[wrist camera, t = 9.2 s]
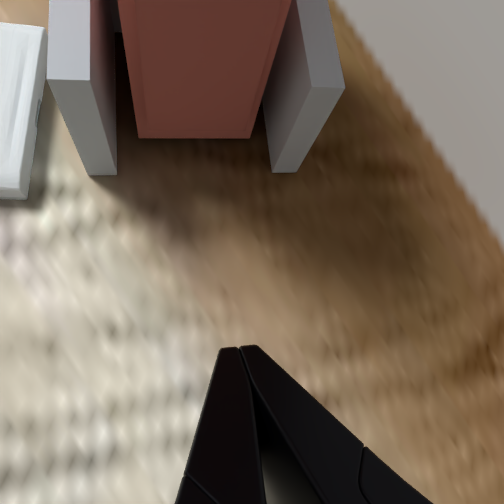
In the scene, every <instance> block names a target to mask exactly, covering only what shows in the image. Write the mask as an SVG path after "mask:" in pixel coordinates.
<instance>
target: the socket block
mask: <svg viewBox="0 0 504 504" xmlns="http://www.w3.org/2000/svg"><path fill="white" fill-rule="evenodd" d="M115 32H122V27H121V21H120V15H119V8H118V2H117V0H50V1H49V27H48V53H47V78H46V79H47V81H48V84H49V86H50V88H51V91H52V93H53V95H54V98H55V100H56V102H57V105H58V107H59V109H60V112H61V114H62V116H63V118H64V121H65V123H66V125H67V128H68V130H69V132H70V135H71V137H72V139H73V142H74V144H75V146H76V149H77V151H78V153H79V155H80V158H81V160H82V162H83V165H84V167H85V169H86V172H87V174H88V175H117V139H116V83H115ZM344 89H345V84H344V79H343V74H342V69H341V64H340V59H339V54H338V49H337V45H336V40H335V35H334V30H333V25H332V20H331V15H330V10H329V6H328V1H327V0H292V1H291V4H290V8H289V11H288V14H287V17H286V21H285V24H284V27H283V30H282V34H281V37H280V40H279V44H278V47H277V50H276V53H275V57H274V60H273V63H272V66H271V70H270V73H269V76H268V80H267V83H266V86H265V89H264V93H263V96H262V103H263V111H264V118H265V125H266V133H267V140H268V148H269V155H270V162H271V170H272V173H291V172H297V170H298V169H299V167H300V165H301V163H302V162H303V160H304V158H305V156H306V155H307V153H308V151H309V150H310V148H311V146H312V144H313V143H314V141H315V139H316V138H317V136H318V134H319V132H320V131H321V129H322V127H323V126H324V124H325V122H326V120H327V119H328V117H329V115H330V114H331V112H332V110H333V108H334V107H335V105H336V103H337V101H338V100H339V98H340V96H341V95H342V93H343V91H344Z"/></svg>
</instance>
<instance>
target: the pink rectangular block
mask: <svg viewBox="0 0 504 504" xmlns="http://www.w3.org/2000/svg"><path fill="white" fill-rule="evenodd" d="M291 1H292V0H117V2H118V8H119V15H120V21H121V27H122V34H123V40H124V47H125V53H126V60H127V66H128V73H129V79H130V85H131V92H132V98H133V105H134V111H135V118H136V124H137V130H138V137H139V138H250V135H251V132H252V129H253V125H254V122H255V119H256V116H257V112H258V109H259V106H260V103H261V99H262V96H263V93H264V89H265V86H266V83H267V80H268V76H269V73H270V70H271V66H272V63H273V60H274V57H275V53H276V50H277V47H278V44H279V40H280V37H281V34H282V30H283V27H284V24H285V21H286V17H287V14H288V11H289V8H290V4H291Z"/></svg>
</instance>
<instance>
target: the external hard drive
mask: <svg viewBox="0 0 504 504" xmlns="http://www.w3.org/2000/svg"><path fill="white" fill-rule="evenodd" d="M47 53H48V35H47V32H46V29H45V28H44V27H38V26H30V25H22V24H11V23H2V22H0V199H12V200H27V198H28V191H29V184H30V177H31V170H32V164H33V157H34V150H35V143H36V136H37V121H38V115H39V109H40V104H41V102H42V97H43V90H44V83H45V77H46V70H47Z"/></svg>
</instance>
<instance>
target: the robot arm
mask: <svg viewBox="0 0 504 504" xmlns="http://www.w3.org/2000/svg"><path fill="white" fill-rule="evenodd" d="M175 504H433V503H432V502H430V501H429V500H428V499H427V498H425V497H424V496H423V495H422V494H421V493H419V492H418V491H417V490H416V489H414V488H413V487H412V486H411V485H409V484H408V483H407V482H406V481H404V480H403V479H402V478H401V477H400V476H399V475H398V474H396V473H395V472H394V471H393V470H392V469H391V468H390V467H389V466H387V465H386V464H385V463H384V462H383V461H382V460H381V459H380V458H378V457H377V456H376V455H375V454H374V453H373V452H372V451H371V450H370V449H369V448H368V447H364V444H363V443H362V442H361V441H360V440H359V439H358V438H357V437H356V436H355V435H353V434H352V433H351V432H350V431H349V430H348V429H347V428H346V427H345V426H344V425H343V424H342V423H341V422H339V421H338V420H337V419H336V418H335V417H334V416H333V415H332V414H331V413H330V412H329V411H328V410H327V409H325V408H324V407H323V406H322V405H321V404H320V403H319V402H318V401H317V400H316V399H315V398H314V397H313V396H312V395H310V394H309V393H308V392H307V391H306V390H305V389H304V388H303V387H302V386H301V385H300V384H299V383H298V382H296V381H295V380H294V379H293V378H292V377H291V376H290V375H289V374H288V373H287V372H286V371H285V370H284V369H282V368H281V367H280V366H279V365H278V364H277V363H276V362H275V361H274V360H273V359H272V358H271V357H270V356H268V355H267V354H266V353H265V352H264V351H263V350H262V349H261V348H260V347H259V346H257V345H246V346H240V347H239V349H238V348H237V347H226V348H221V349H220V350H219V352H218V356H217V359H216V363H215V366H214V370H213V373H212V377H211V380H210V384H209V387H208V391H207V394H206V398H205V401H204V405H203V408H202V412H201V415H200V419H199V422H198V426H197V429H196V433H195V436H194V440H193V443H192V447H191V450H190V454H189V457H188V461H187V464H186V468H185V471H184V477H183V478H182V480H181V484H180V487H179V491H178V494H177V498H176V501H175Z"/></svg>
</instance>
